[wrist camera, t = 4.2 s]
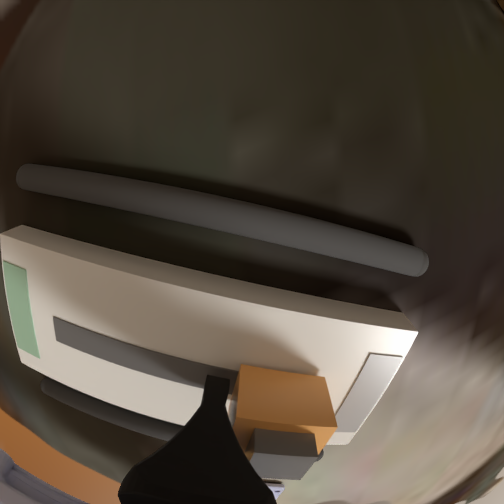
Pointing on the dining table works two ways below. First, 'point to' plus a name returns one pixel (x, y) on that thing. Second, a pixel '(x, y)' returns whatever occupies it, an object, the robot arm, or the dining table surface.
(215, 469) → the robot arm
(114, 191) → the dressed cords
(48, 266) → the white slider switch panel
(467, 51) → the dining table surface
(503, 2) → the plant pot
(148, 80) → the dining table surface
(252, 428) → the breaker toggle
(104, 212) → the dining table surface
